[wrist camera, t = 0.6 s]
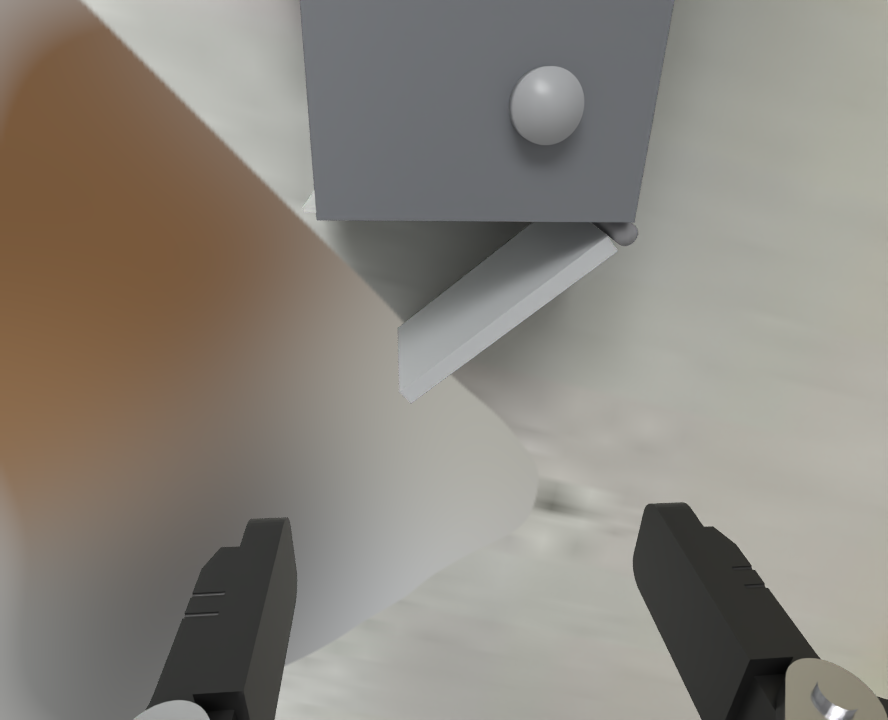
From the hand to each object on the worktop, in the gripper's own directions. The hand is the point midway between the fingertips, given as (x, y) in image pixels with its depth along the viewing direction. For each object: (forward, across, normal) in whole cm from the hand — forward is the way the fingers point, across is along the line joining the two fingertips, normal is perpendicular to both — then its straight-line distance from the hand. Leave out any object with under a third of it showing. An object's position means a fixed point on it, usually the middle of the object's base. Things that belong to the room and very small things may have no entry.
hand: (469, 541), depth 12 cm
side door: (+20, -4, 0) cm, 20 cm away
